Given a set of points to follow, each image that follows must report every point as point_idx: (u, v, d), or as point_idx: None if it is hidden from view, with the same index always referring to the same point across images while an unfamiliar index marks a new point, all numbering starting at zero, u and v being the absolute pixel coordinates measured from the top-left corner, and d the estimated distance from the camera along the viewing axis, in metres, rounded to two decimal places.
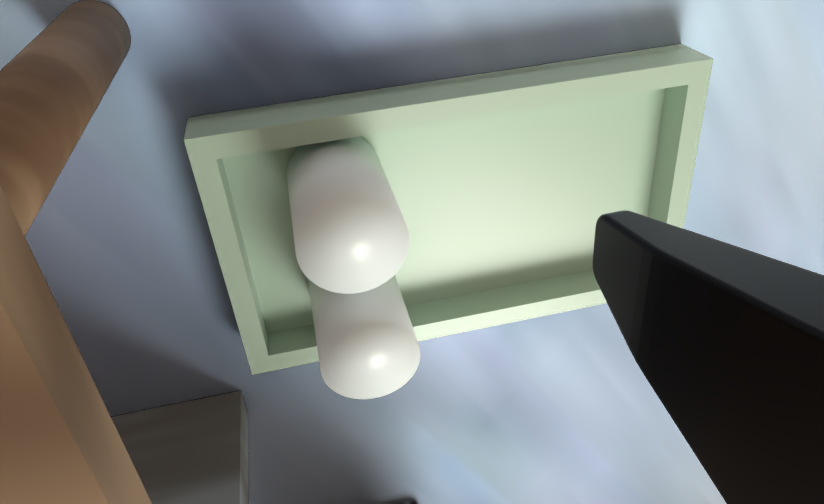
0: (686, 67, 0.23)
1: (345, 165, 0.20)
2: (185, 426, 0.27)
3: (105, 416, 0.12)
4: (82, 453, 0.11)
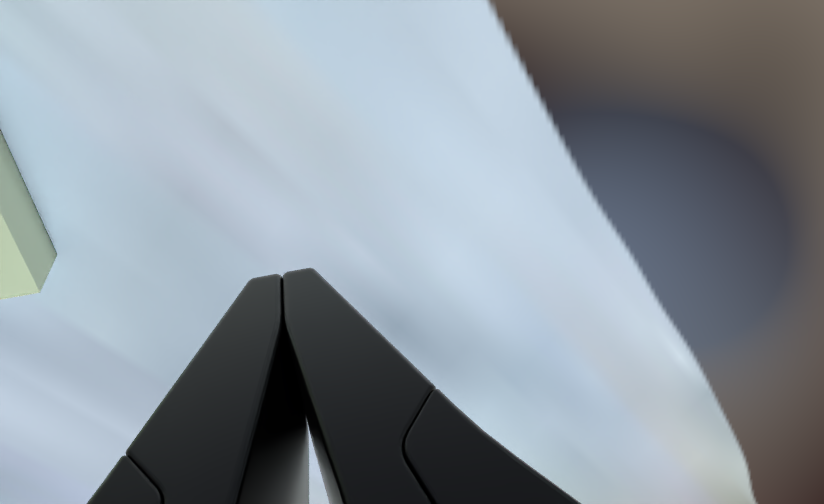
0: None
1: None
2: None
3: None
4: None
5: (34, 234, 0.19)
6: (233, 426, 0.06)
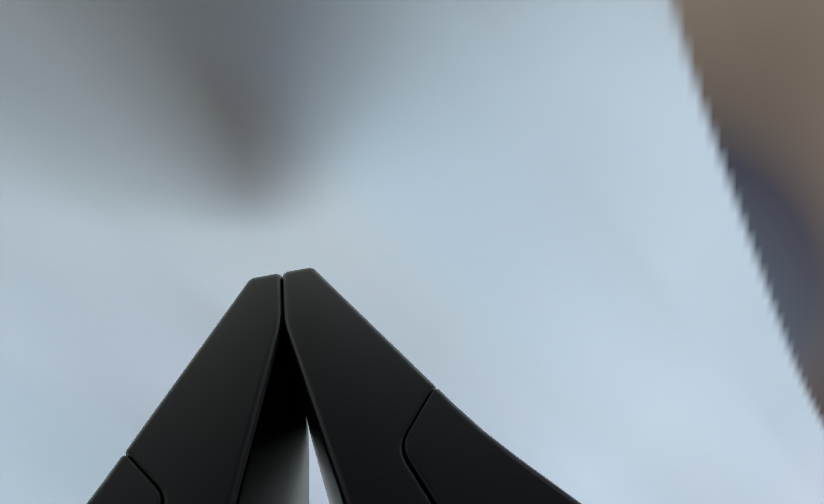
0: None
1: None
2: None
3: None
4: None
5: None
6: (233, 426, 0.06)
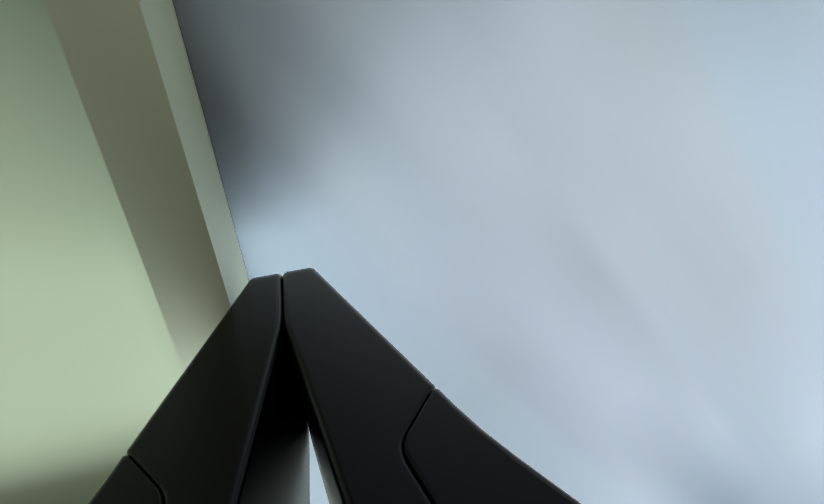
0: None
1: None
2: None
3: None
4: None
5: None
6: (233, 425, 0.06)
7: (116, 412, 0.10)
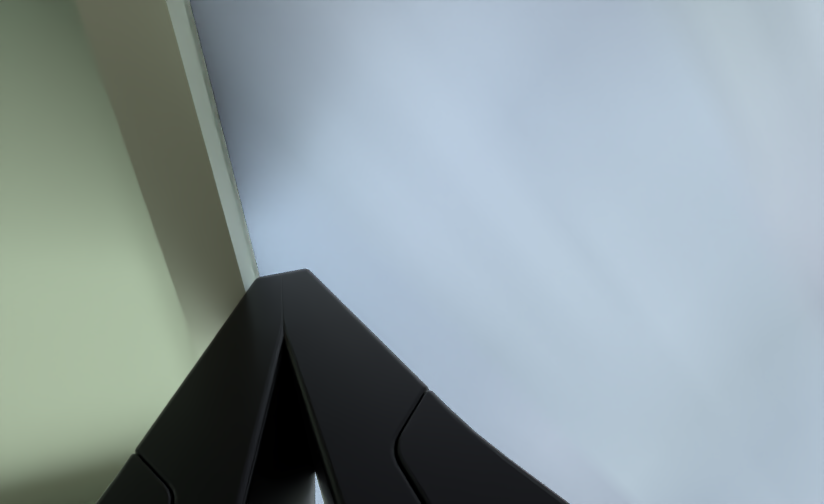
0: None
1: None
2: None
3: None
4: None
5: None
6: (242, 424, 0.06)
7: (127, 405, 0.10)
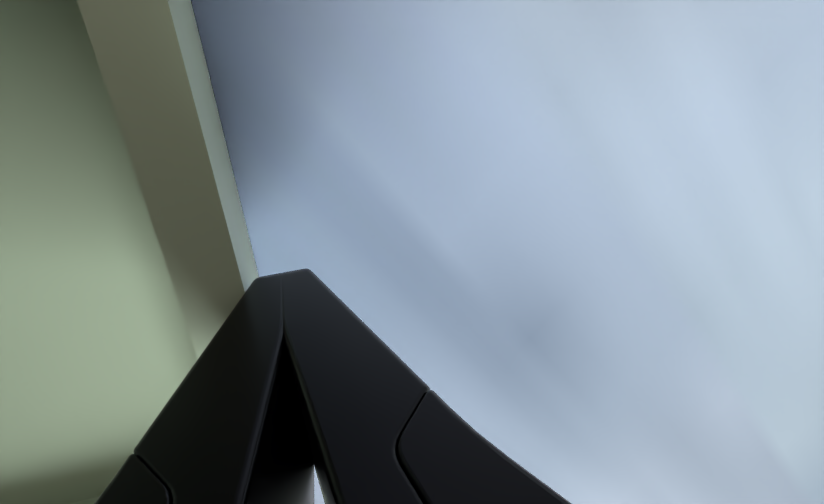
0: None
1: None
2: None
3: None
4: None
5: None
6: (240, 424, 0.06)
7: (125, 404, 0.10)
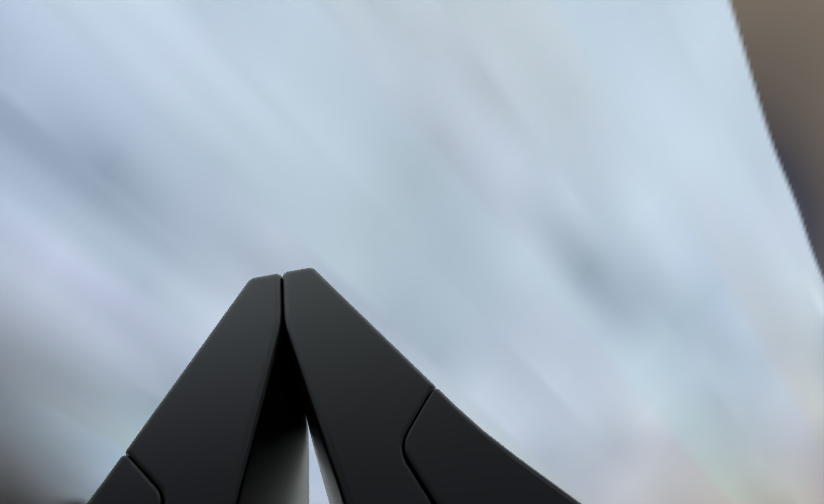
0: None
1: None
2: None
3: None
4: None
5: None
6: (233, 426, 0.06)
7: None
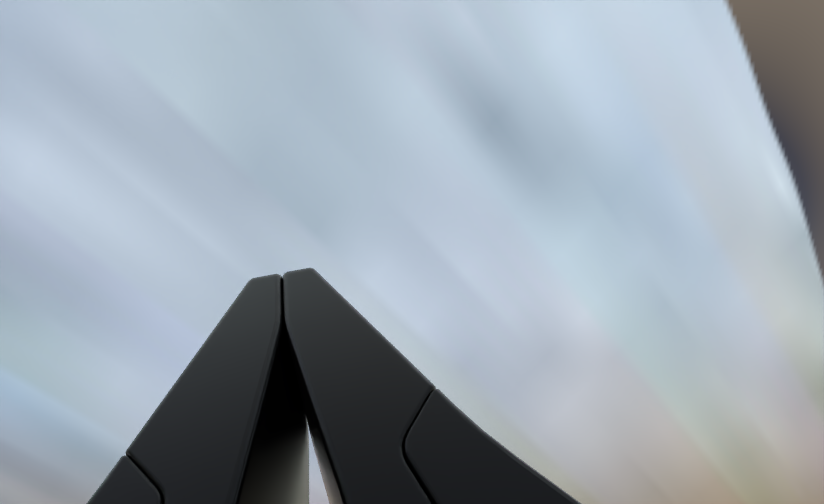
0: None
1: None
2: None
3: None
4: None
5: None
6: (233, 426, 0.06)
7: None
